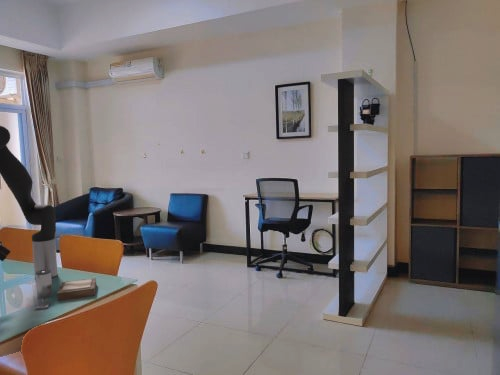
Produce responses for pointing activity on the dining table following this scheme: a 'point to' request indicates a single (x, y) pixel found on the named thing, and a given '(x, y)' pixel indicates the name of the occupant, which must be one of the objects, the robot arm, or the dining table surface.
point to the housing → (44, 283)
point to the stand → (77, 289)
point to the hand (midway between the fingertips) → (6, 256)
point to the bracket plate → (42, 305)
